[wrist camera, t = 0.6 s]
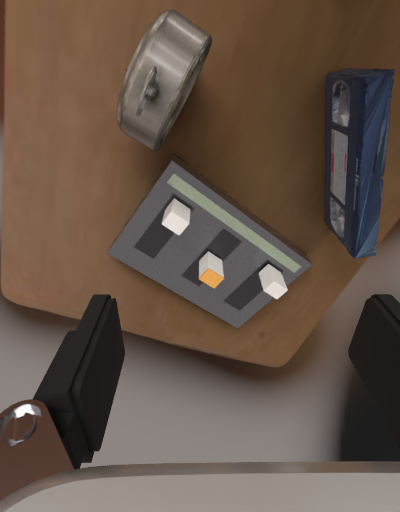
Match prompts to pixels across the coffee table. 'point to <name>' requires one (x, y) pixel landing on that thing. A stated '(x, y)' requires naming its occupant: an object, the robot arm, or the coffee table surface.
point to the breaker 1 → (176, 217)
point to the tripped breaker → (211, 270)
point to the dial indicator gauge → (161, 78)
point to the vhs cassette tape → (356, 154)
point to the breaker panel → (206, 245)
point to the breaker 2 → (272, 281)
